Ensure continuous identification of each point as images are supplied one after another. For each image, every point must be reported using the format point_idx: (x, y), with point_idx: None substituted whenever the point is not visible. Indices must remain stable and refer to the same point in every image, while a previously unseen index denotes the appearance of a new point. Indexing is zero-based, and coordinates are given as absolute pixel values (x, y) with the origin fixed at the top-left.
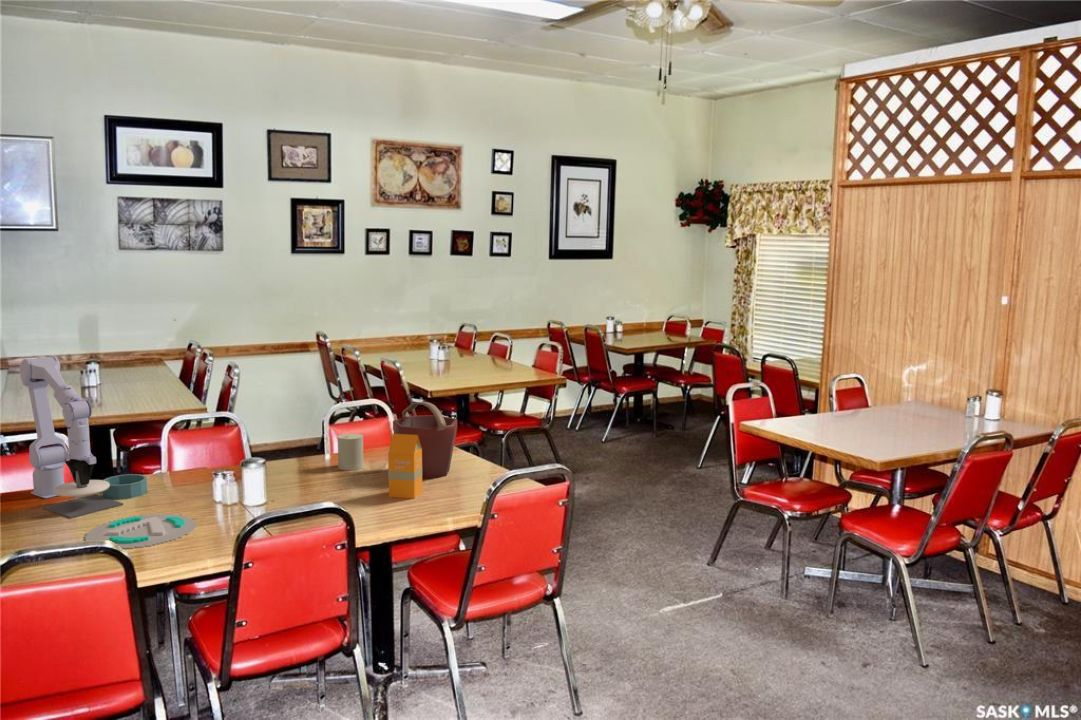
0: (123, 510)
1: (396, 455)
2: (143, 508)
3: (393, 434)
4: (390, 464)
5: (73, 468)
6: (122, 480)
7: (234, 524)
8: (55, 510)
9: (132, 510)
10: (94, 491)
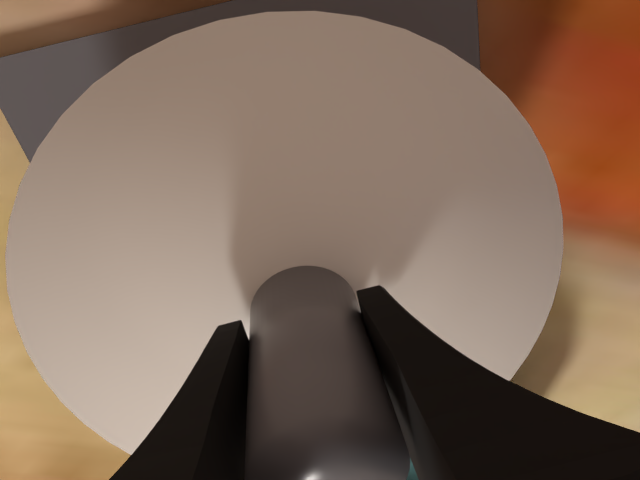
0: (33, 390)
1: None
2: (20, 470)
3: None
4: None
5: (425, 438)
6: None
7: None
8: (277, 5)
9: (4, 425)
10: (42, 369)
